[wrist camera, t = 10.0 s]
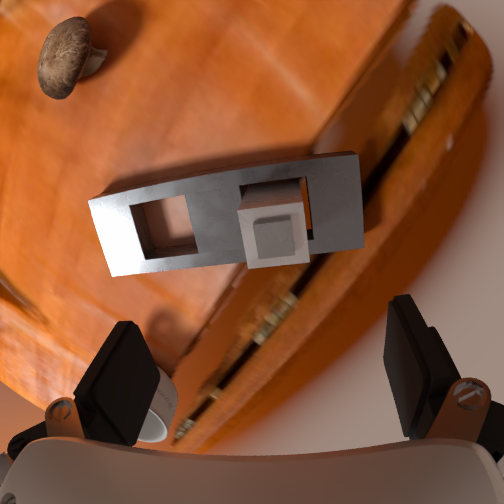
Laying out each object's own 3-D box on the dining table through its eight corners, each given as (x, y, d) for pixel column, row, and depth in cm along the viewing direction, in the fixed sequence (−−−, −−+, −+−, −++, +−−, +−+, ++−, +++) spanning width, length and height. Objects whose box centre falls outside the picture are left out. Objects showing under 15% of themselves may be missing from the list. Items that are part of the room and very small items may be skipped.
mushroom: (126, 49, 21) (54, 43, 16) (94, 115, 26) (33, 118, 21) (111, 9, 22) (52, 3, 17) (83, 68, 27) (31, 68, 23)
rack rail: (123, 264, 33) (112, 276, 30) (100, 193, 29) (87, 200, 27) (358, 236, 29) (364, 247, 27) (351, 150, 26) (358, 154, 23)
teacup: (183, 408, 42) (169, 452, 35) (114, 388, 42) (94, 428, 35) (185, 338, 36) (165, 389, 29) (102, 317, 36) (71, 359, 29)
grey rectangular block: (249, 183, 28) (235, 213, 20) (297, 176, 27) (303, 204, 19) (257, 227, 29) (247, 272, 22) (303, 222, 29) (310, 266, 21)
